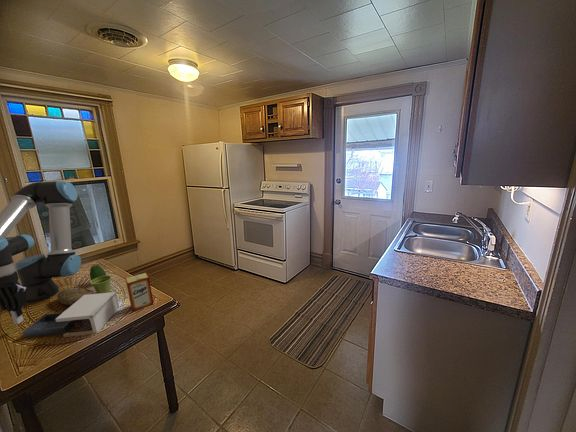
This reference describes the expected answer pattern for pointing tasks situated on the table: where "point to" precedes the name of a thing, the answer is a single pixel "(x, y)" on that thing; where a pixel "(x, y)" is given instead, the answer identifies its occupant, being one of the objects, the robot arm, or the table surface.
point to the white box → (91, 311)
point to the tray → (48, 326)
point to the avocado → (96, 272)
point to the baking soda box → (139, 291)
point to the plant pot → (102, 284)
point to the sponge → (72, 295)
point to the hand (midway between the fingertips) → (19, 322)
